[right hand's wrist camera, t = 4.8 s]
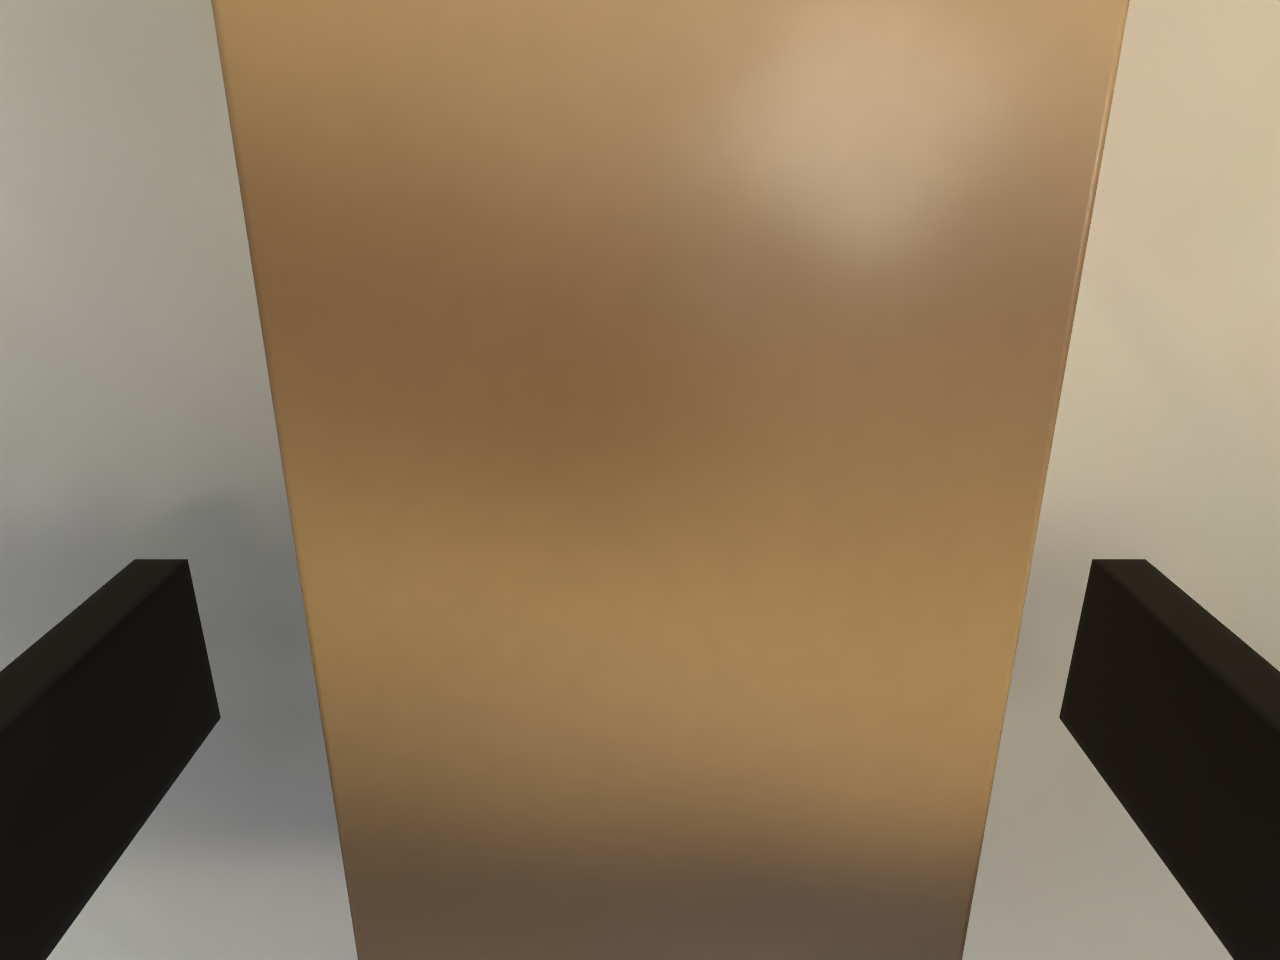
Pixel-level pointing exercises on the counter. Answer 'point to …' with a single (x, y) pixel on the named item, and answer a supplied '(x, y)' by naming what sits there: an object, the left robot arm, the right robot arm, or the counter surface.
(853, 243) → the beam
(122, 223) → the counter surface
